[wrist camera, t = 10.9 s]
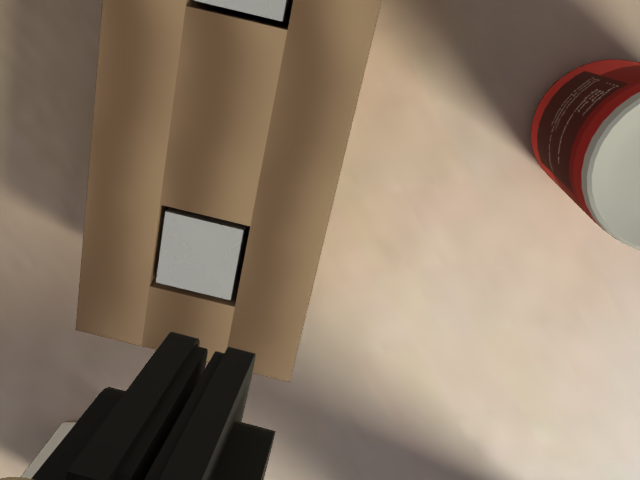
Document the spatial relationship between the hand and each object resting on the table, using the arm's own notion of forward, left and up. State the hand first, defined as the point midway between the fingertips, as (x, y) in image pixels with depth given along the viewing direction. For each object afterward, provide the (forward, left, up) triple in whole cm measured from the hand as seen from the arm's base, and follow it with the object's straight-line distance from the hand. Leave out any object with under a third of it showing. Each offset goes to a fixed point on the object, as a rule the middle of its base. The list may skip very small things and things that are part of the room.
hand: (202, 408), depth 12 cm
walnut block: (+4, -1, -28) cm, 28 cm away
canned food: (-16, -4, -28) cm, 32 cm away
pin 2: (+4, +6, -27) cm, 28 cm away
